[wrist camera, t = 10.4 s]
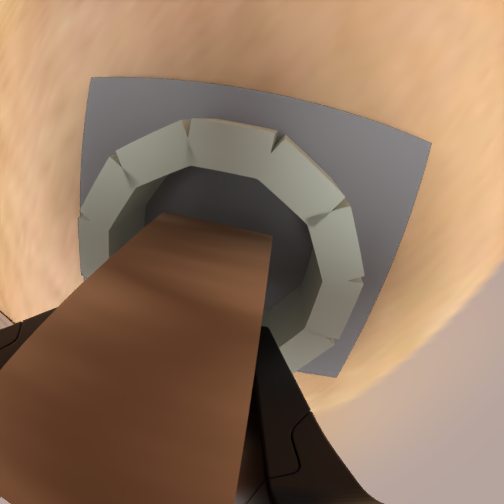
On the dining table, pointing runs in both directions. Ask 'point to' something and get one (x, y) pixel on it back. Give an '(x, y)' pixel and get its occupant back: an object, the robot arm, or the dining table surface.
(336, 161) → the collar holder
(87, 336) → the walnut peg
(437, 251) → the dining table surface
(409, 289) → the dining table surface
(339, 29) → the dining table surface
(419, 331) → the dining table surface
